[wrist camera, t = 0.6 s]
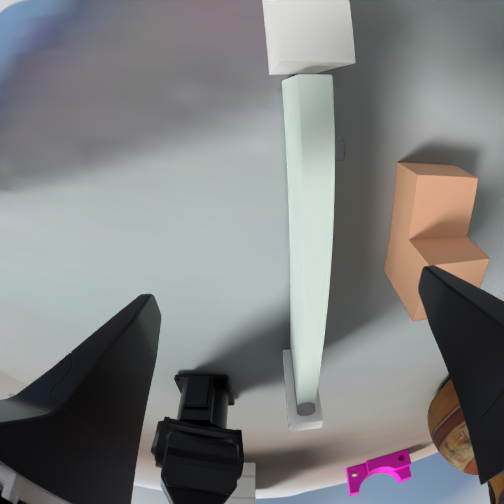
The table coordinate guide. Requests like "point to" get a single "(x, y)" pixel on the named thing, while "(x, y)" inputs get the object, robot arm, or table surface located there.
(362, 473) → the toy block
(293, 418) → the white small block
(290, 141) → the door
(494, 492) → the ceramic pitcher
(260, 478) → the table surface
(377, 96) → the table surface
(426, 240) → the tan stair step
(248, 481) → the pizza boxes
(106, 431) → the robot arm
